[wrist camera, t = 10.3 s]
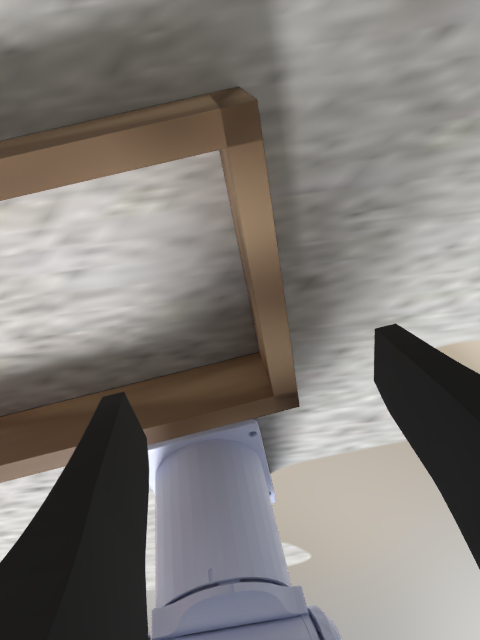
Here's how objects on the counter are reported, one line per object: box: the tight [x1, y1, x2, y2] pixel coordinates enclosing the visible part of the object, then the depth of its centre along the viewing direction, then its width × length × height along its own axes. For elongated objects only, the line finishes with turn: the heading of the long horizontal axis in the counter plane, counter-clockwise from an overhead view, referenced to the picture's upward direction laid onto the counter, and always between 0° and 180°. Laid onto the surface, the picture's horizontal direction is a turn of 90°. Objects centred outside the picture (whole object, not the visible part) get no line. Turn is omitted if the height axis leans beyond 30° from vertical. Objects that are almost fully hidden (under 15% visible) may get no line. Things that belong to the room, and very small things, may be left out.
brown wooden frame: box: [0, 87, 299, 483], centre depth 19 cm, size 14×17×4 cm
